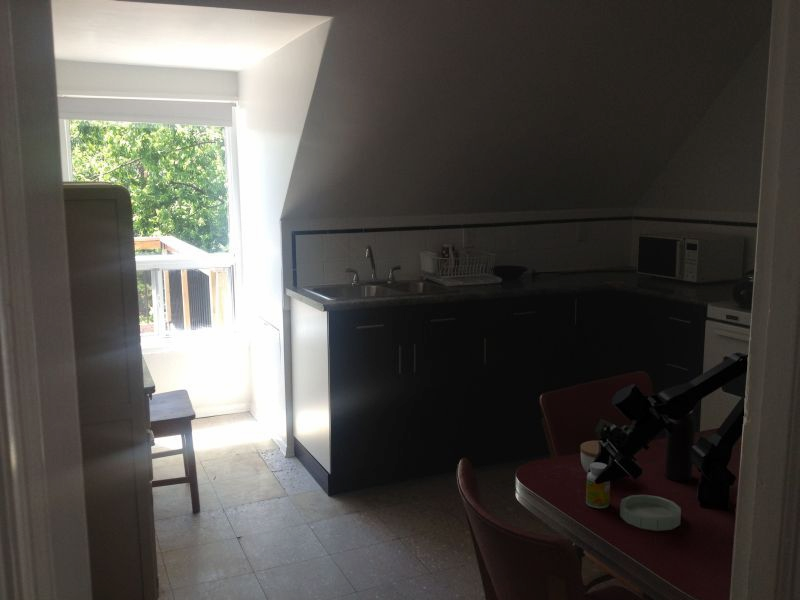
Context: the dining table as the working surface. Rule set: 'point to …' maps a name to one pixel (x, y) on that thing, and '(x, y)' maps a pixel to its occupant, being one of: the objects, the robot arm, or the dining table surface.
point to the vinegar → (680, 449)
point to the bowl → (650, 512)
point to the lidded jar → (589, 453)
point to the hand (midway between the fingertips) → (592, 477)
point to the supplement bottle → (597, 488)
